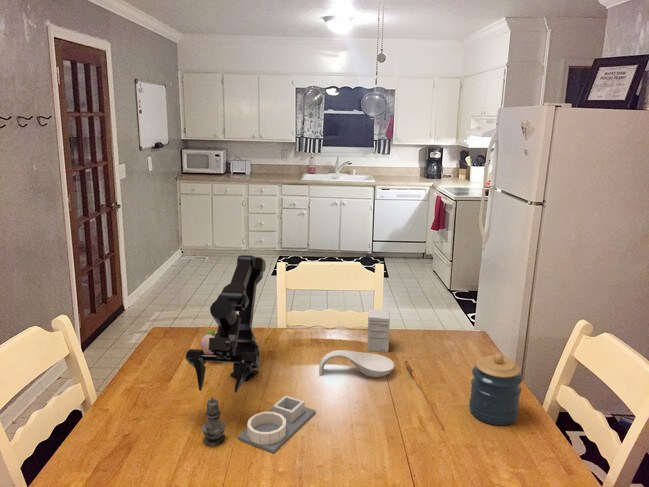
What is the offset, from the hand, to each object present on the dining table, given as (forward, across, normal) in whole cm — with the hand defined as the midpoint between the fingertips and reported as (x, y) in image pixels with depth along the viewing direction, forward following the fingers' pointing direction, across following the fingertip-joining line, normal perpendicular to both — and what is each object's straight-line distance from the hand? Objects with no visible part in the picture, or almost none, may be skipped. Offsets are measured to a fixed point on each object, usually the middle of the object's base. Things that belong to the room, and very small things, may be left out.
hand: (217, 391), depth 134 cm
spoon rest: (-16, +35, +31) cm, 49 cm away
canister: (-2, +73, +18) cm, 75 cm away
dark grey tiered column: (+11, 0, +4) cm, 12 cm away
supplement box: (-29, +42, +44) cm, 68 cm away
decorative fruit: (-20, -12, +35) cm, 42 cm away
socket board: (+6, +15, +9) cm, 19 cm away
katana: (-8, +54, +23) cm, 60 cm away
